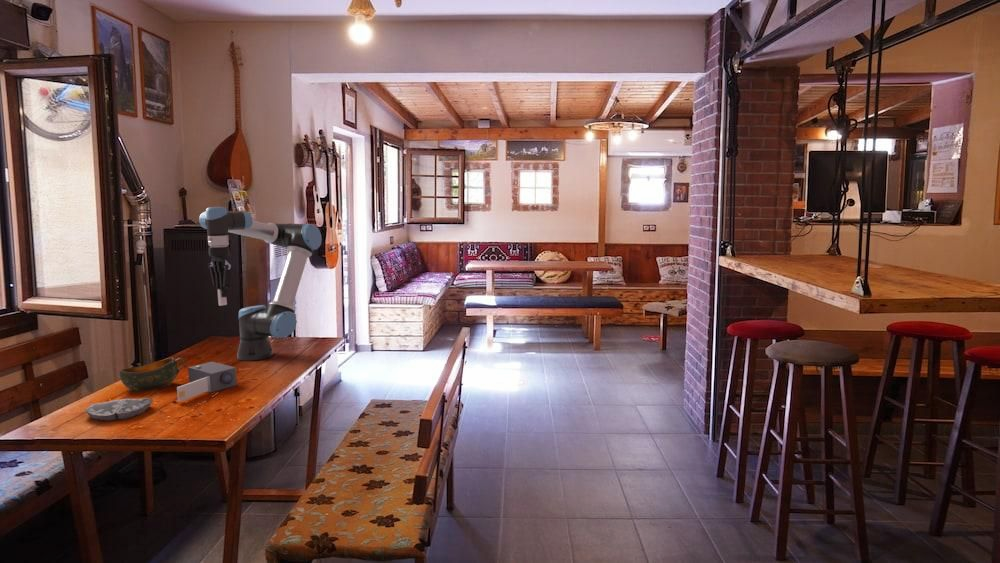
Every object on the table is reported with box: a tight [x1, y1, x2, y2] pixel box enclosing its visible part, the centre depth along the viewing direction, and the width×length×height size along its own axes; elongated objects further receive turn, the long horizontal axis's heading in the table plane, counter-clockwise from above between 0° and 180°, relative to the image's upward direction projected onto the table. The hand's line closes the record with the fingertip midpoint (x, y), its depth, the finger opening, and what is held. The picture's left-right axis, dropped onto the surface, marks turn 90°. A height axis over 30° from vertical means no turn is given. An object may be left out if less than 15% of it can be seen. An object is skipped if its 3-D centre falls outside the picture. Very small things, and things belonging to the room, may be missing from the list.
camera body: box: [187, 361, 238, 393], centre depth 243 cm, size 10×18×8 cm, turn 56°
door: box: [176, 376, 211, 403], centre depth 228 cm, size 2×14×6 cm, turn 160°
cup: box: [119, 357, 185, 392], centre depth 241 cm, size 13×20×10 cm, turn 97°
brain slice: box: [84, 397, 153, 421], centre depth 212 cm, size 20×17×3 cm
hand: (222, 305), depth 251 cm, fingers closed
